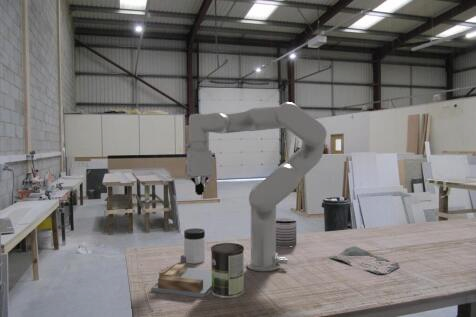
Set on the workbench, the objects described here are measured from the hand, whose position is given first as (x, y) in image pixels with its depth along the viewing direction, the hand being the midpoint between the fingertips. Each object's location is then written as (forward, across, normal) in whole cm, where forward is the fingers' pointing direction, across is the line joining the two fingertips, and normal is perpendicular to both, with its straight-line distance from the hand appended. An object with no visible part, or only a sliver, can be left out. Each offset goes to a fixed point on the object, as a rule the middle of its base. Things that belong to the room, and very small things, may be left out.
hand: (199, 194), depth 139 cm
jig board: (+27, -8, -17) cm, 33 cm away
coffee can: (+27, +2, -28) cm, 39 cm away
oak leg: (+26, -12, -14) cm, 32 cm away
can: (+27, +43, +14) cm, 53 cm away
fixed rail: (+26, -12, -24) cm, 37 cm away
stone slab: (+28, +61, -20) cm, 70 cm away
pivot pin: (+26, -8, -8) cm, 28 cm away
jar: (+27, -1, +6) cm, 28 cm away
